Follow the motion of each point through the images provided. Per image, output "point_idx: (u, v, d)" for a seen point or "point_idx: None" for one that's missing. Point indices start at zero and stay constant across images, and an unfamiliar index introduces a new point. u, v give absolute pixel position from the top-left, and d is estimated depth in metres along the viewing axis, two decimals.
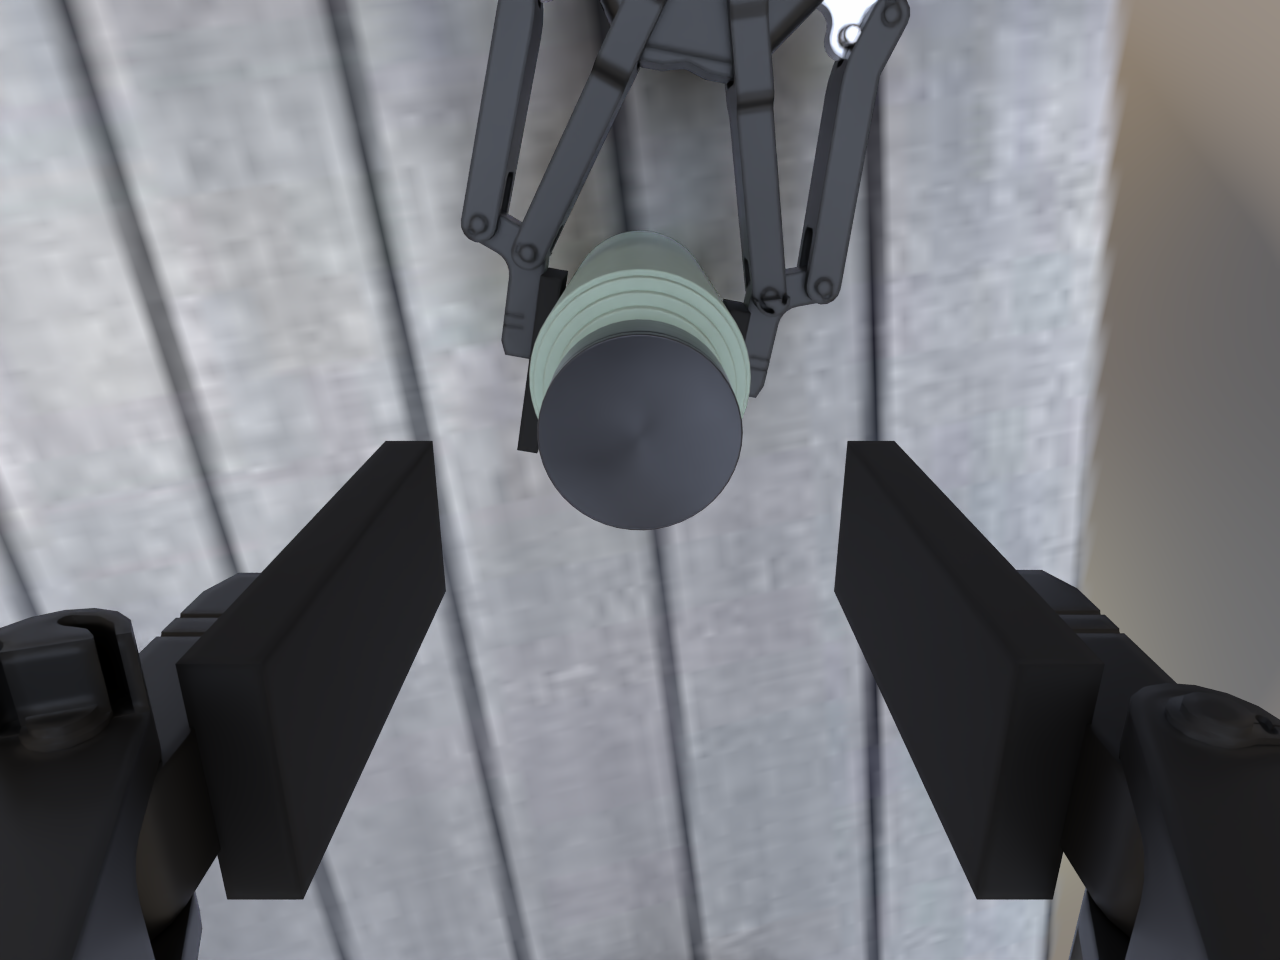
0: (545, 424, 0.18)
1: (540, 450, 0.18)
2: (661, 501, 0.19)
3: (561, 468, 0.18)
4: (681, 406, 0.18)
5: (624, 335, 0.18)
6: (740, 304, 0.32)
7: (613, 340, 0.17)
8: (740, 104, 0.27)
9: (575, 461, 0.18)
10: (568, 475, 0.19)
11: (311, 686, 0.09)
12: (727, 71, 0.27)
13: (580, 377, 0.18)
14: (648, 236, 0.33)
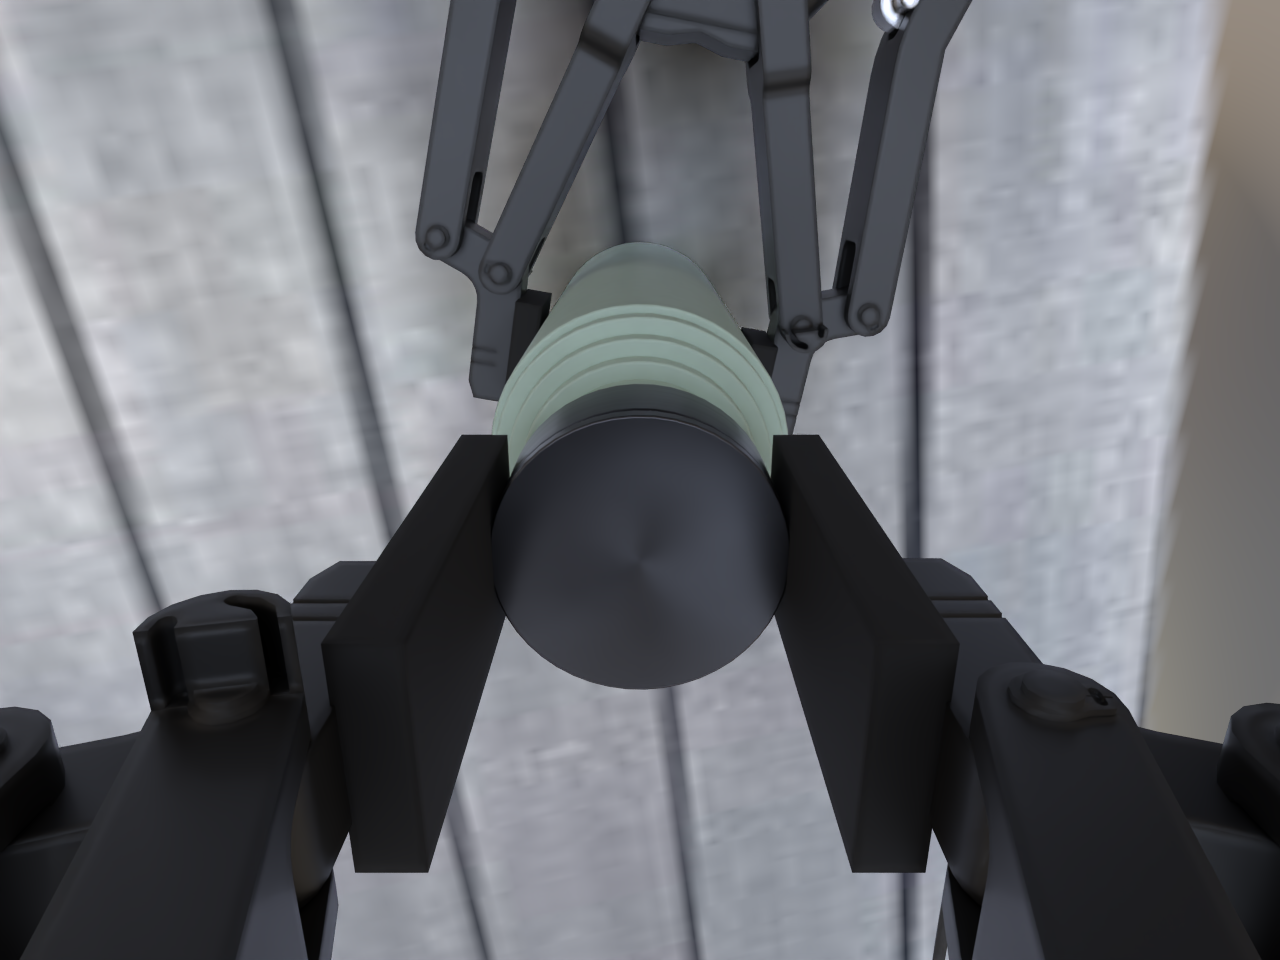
0: (500, 544, 0.12)
1: None
2: (671, 650, 0.13)
3: (525, 605, 0.13)
4: (701, 520, 0.12)
5: (616, 417, 0.12)
6: (763, 334, 0.26)
7: (600, 425, 0.12)
8: (767, 85, 0.21)
9: (545, 596, 0.13)
10: (535, 615, 0.13)
11: (433, 668, 0.09)
12: (751, 44, 0.22)
13: (551, 478, 0.12)
14: (650, 250, 0.27)
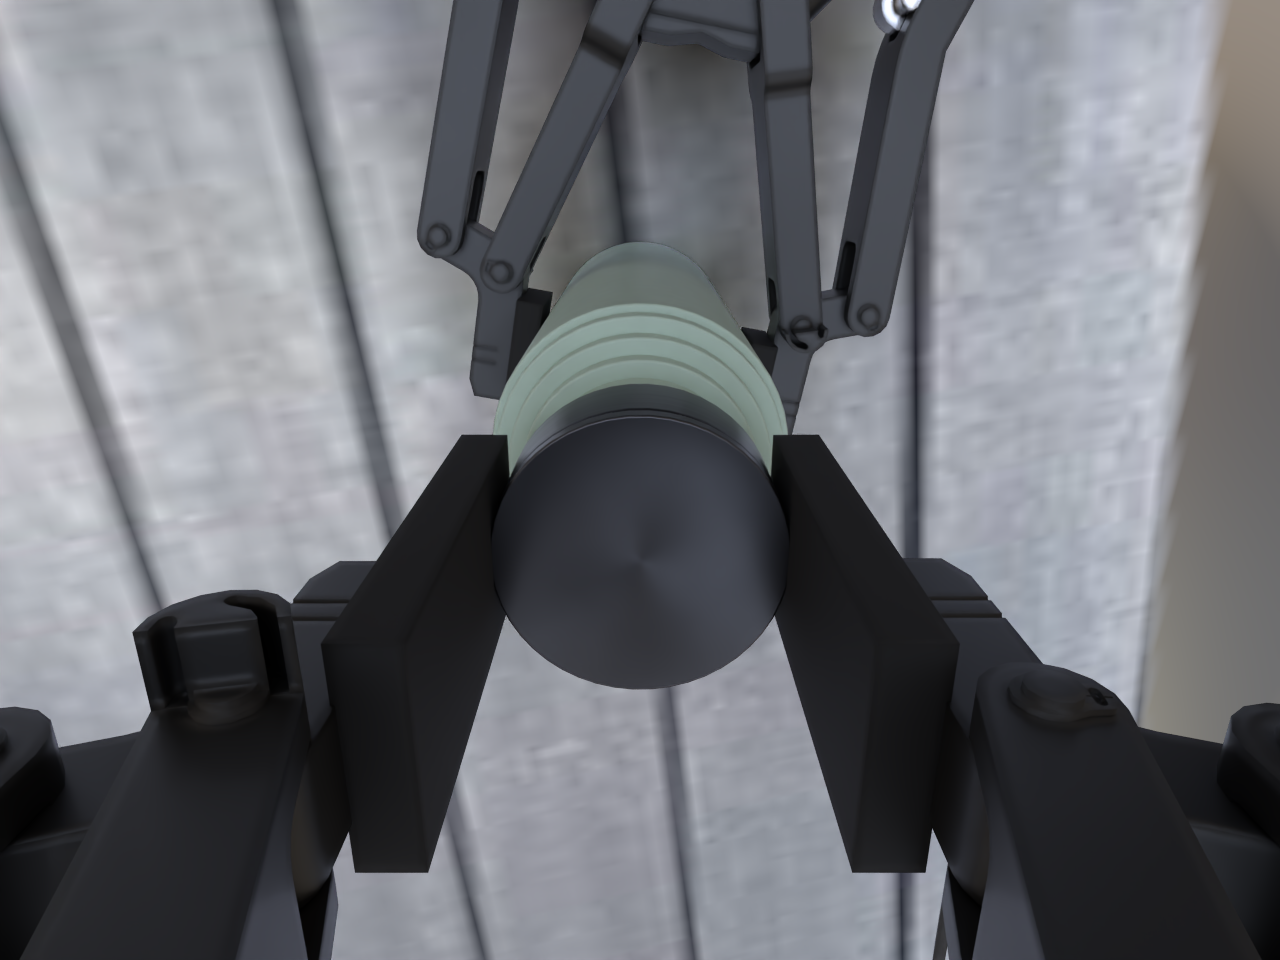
0: (645, 681, 0.13)
1: (684, 682, 0.13)
2: (738, 515, 0.12)
3: (706, 654, 0.13)
4: (584, 513, 0.12)
5: (500, 601, 0.13)
6: (763, 334, 0.26)
7: (509, 615, 0.13)
8: (768, 86, 0.22)
9: (693, 638, 0.13)
10: (715, 643, 0.13)
11: (432, 668, 0.09)
12: (752, 45, 0.22)
13: (570, 647, 0.13)
14: (650, 250, 0.27)
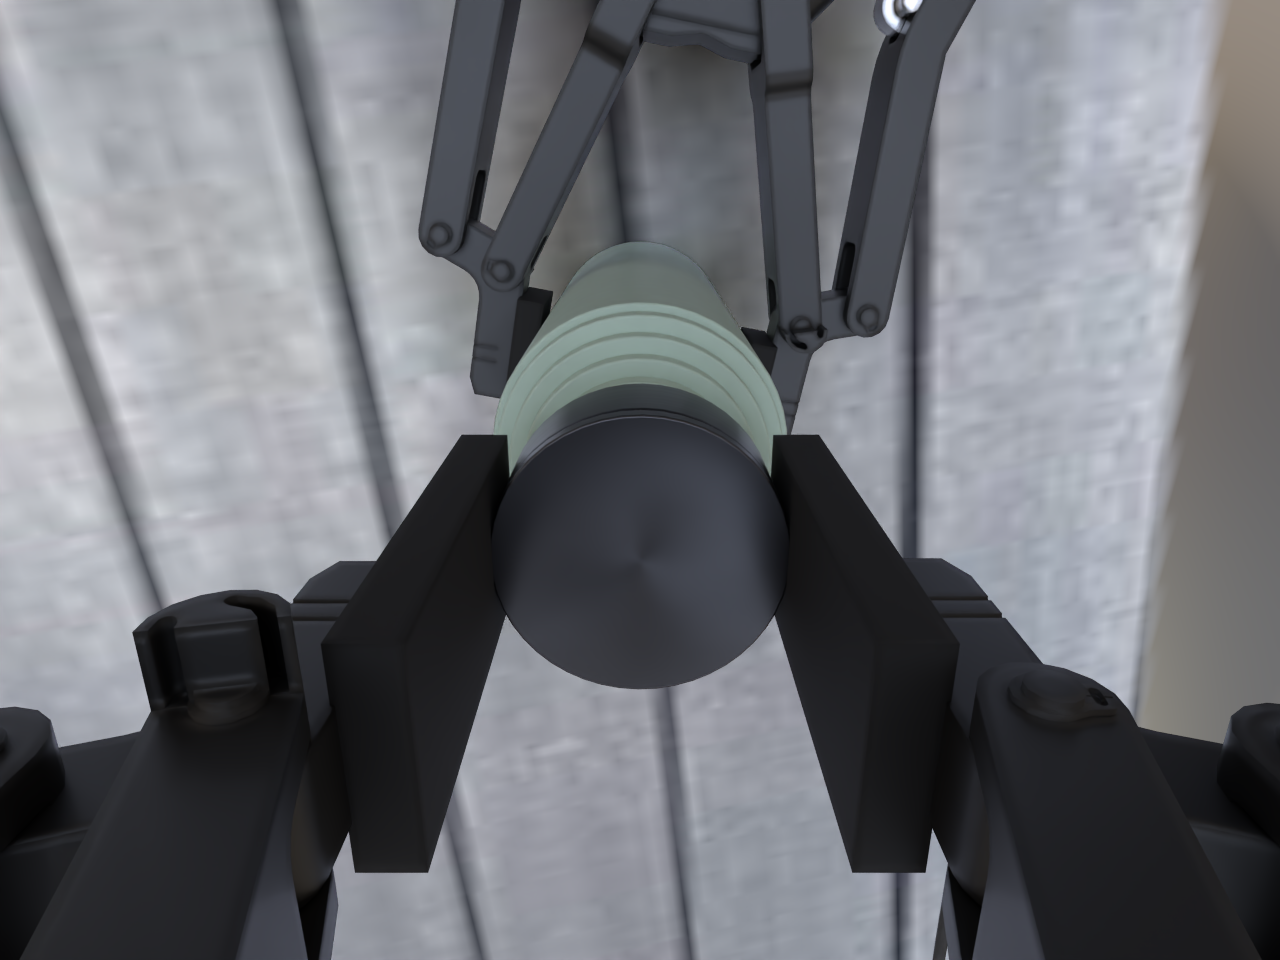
0: (778, 535, 0.12)
1: (775, 495, 0.12)
2: (572, 480, 0.12)
3: (737, 480, 0.12)
4: (599, 616, 0.13)
5: (706, 673, 0.13)
6: (762, 334, 0.26)
7: (719, 666, 0.13)
8: (769, 87, 0.22)
9: (720, 497, 0.12)
10: (723, 472, 0.12)
11: (432, 668, 0.09)
12: (753, 46, 0.22)
13: (748, 610, 0.13)
14: (651, 249, 0.27)
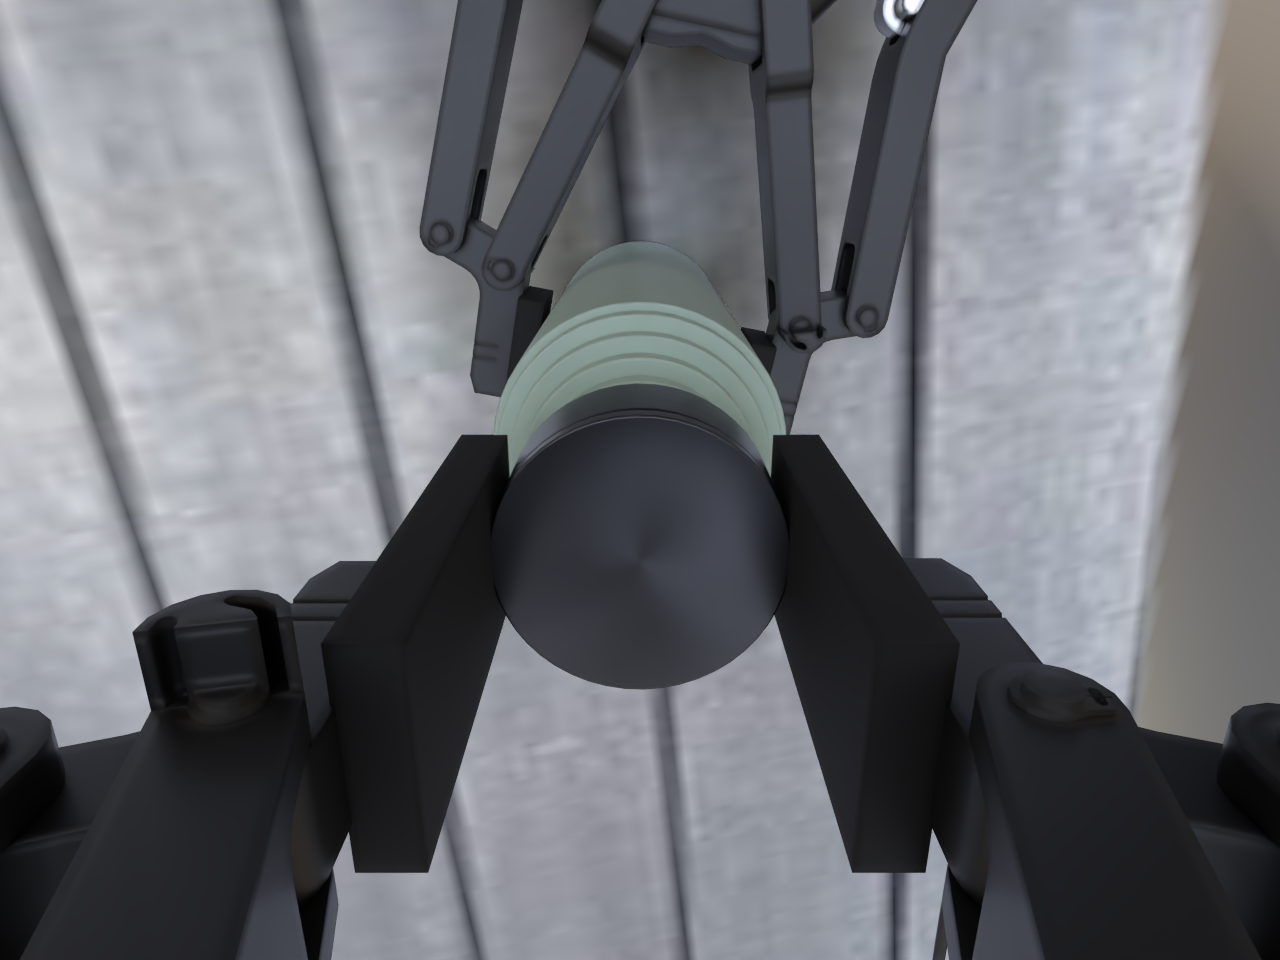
0: (585, 437, 0.12)
1: (544, 448, 0.12)
2: (568, 630, 0.13)
3: (535, 488, 0.12)
4: (708, 589, 0.13)
5: (763, 474, 0.12)
6: (762, 334, 0.26)
7: (750, 465, 0.12)
8: (770, 88, 0.22)
9: (556, 500, 0.12)
10: (531, 501, 0.12)
11: (432, 668, 0.09)
12: (754, 47, 0.22)
13: (677, 449, 0.12)
14: (651, 249, 0.27)
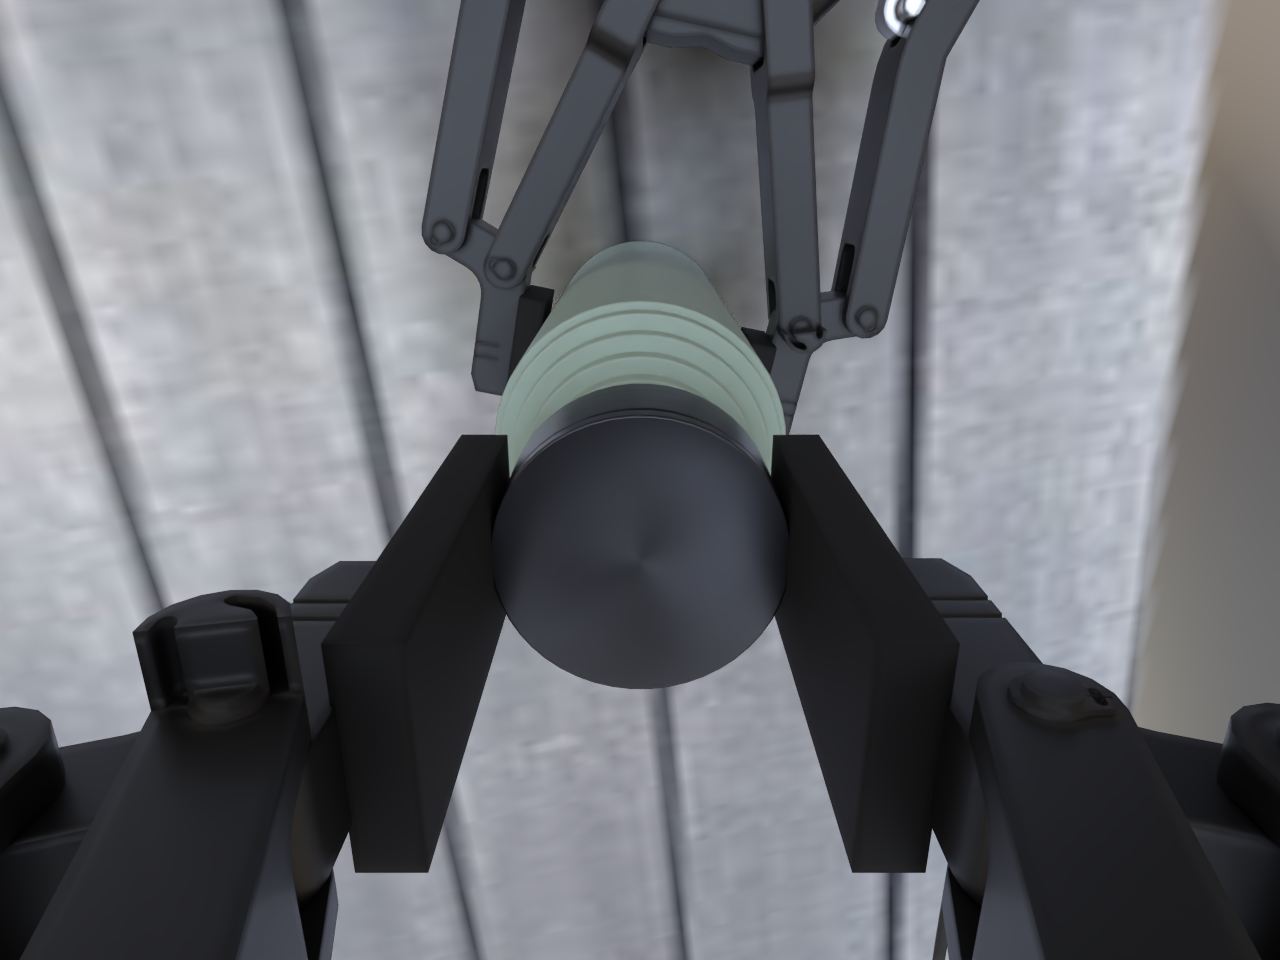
0: (524, 625, 0.13)
1: (544, 655, 0.13)
2: (728, 613, 0.13)
3: (583, 658, 0.13)
4: (660, 493, 0.12)
5: (525, 463, 0.12)
6: (762, 334, 0.26)
7: (517, 479, 0.12)
8: (771, 89, 0.22)
9: (592, 640, 0.13)
10: (597, 660, 0.13)
11: (432, 668, 0.09)
12: (756, 48, 0.22)
13: (517, 547, 0.12)
14: (652, 249, 0.28)
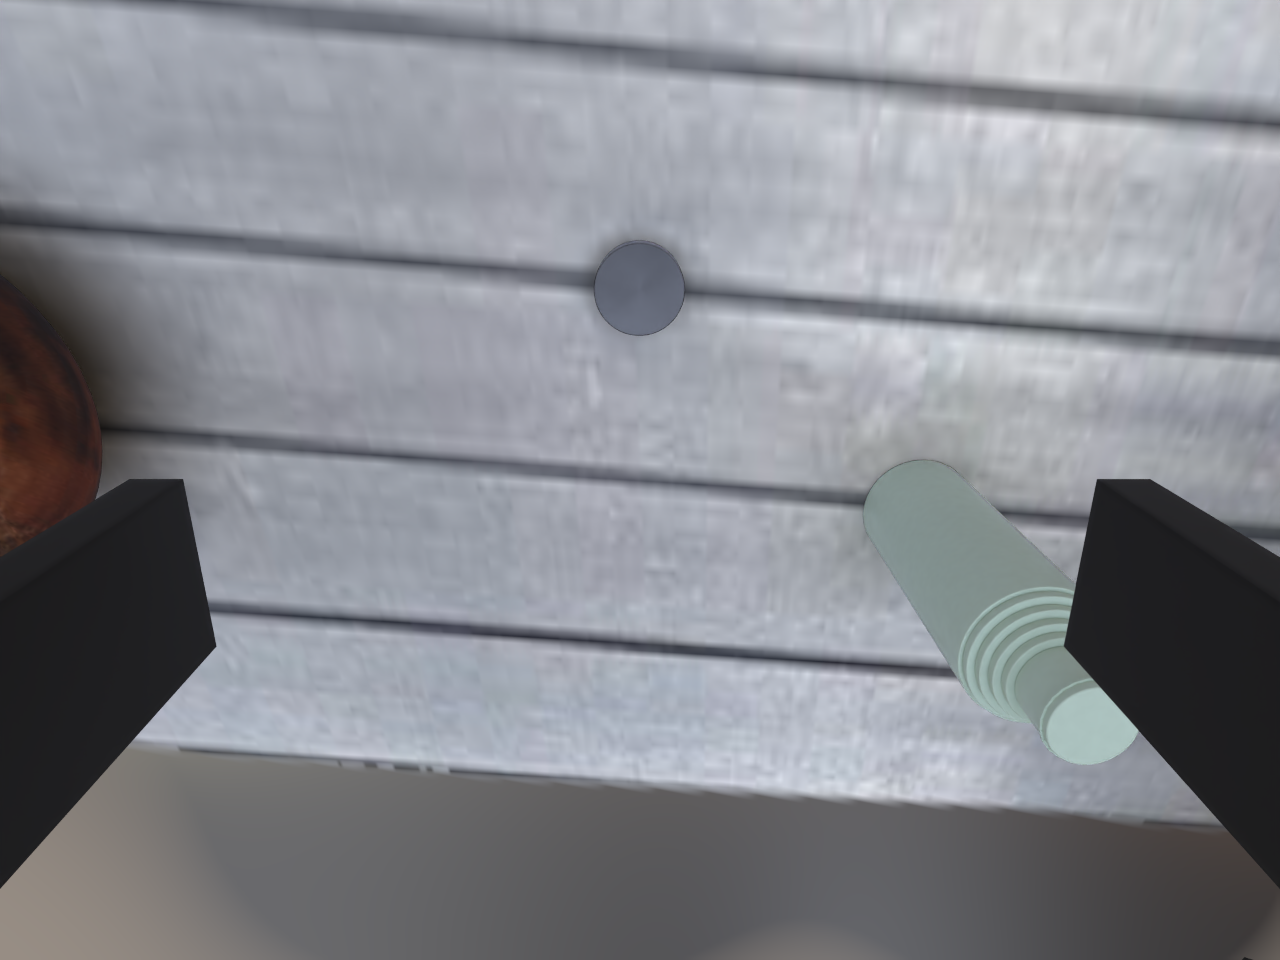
0: (603, 312, 0.42)
1: (609, 323, 0.42)
2: (666, 308, 0.41)
3: (621, 324, 0.42)
4: (645, 267, 0.41)
5: (605, 258, 0.41)
6: None
7: (603, 263, 0.41)
8: None
9: (624, 317, 0.42)
10: (626, 325, 0.42)
11: None
12: None
13: (602, 285, 0.41)
14: None
